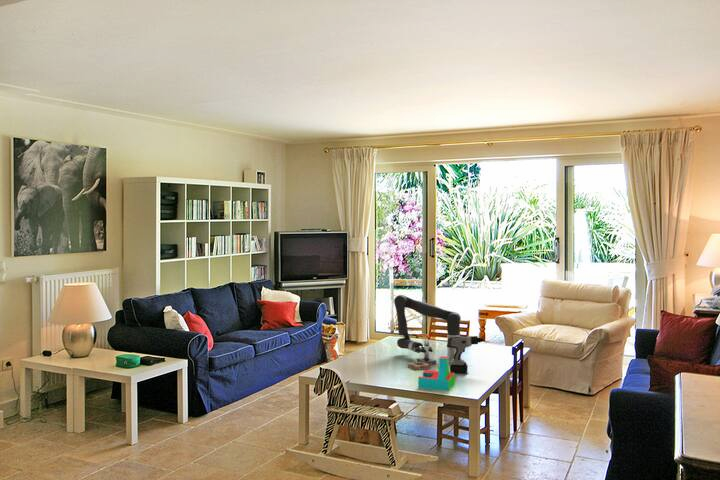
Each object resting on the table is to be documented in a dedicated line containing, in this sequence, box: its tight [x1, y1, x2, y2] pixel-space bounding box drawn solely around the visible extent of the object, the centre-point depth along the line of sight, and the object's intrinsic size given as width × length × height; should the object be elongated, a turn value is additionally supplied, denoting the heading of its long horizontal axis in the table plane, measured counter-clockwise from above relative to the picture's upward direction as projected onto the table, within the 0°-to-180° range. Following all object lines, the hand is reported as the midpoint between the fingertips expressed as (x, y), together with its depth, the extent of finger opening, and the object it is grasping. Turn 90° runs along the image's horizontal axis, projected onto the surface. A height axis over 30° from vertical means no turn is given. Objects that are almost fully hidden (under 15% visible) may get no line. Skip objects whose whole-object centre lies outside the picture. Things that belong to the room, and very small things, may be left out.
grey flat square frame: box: [416, 357, 437, 365], centre depth 436 cm, size 10×10×2 cm
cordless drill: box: [446, 335, 485, 375], centre depth 409 cm, size 8×24×25 cm, turn 78°
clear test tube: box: [423, 339, 430, 360], centre depth 436 cm, size 3×3×16 cm
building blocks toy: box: [417, 356, 456, 391], centre depth 381 cm, size 19×25×18 cm
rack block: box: [407, 361, 432, 371], centre depth 422 cm, size 12×10×2 cm
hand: (428, 351), depth 433 cm, fingers open, 5 cm apart
